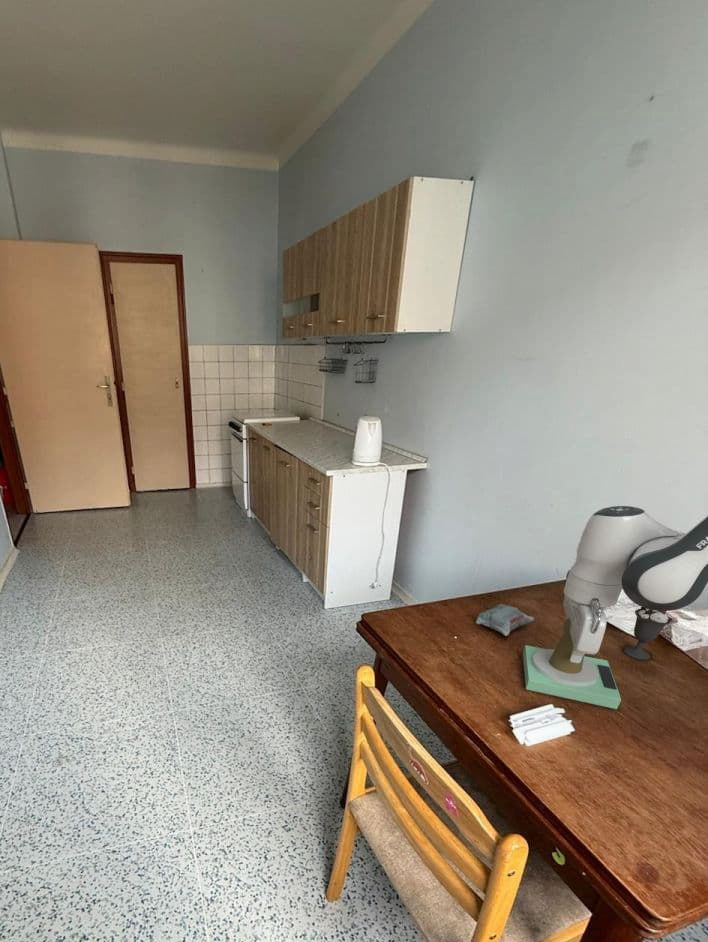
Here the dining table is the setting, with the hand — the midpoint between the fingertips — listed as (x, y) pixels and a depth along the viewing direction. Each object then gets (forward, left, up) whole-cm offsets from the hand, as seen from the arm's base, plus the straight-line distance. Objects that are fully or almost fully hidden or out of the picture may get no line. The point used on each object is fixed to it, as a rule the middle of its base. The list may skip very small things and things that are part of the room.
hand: (571, 648), depth 98 cm
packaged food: (+11, -18, -8) cm, 23 cm away
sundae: (-17, -17, -8) cm, 25 cm away
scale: (-1, 0, -8) cm, 8 cm away
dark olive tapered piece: (0, 0, -4) cm, 4 cm away
